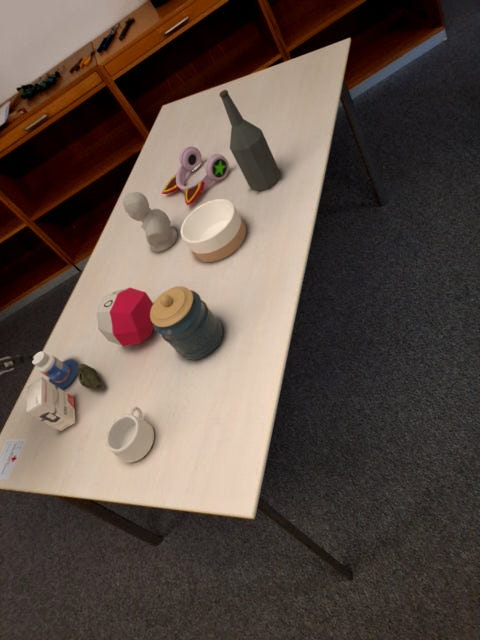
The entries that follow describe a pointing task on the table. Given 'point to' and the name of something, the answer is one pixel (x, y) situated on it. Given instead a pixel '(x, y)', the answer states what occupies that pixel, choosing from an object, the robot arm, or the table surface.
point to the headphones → (189, 160)
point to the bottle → (250, 149)
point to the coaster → (72, 376)
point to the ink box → (50, 404)
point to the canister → (186, 323)
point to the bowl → (213, 230)
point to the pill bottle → (51, 367)
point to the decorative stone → (89, 377)
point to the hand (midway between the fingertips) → (19, 359)
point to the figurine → (150, 221)
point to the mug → (130, 437)
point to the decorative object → (125, 317)
